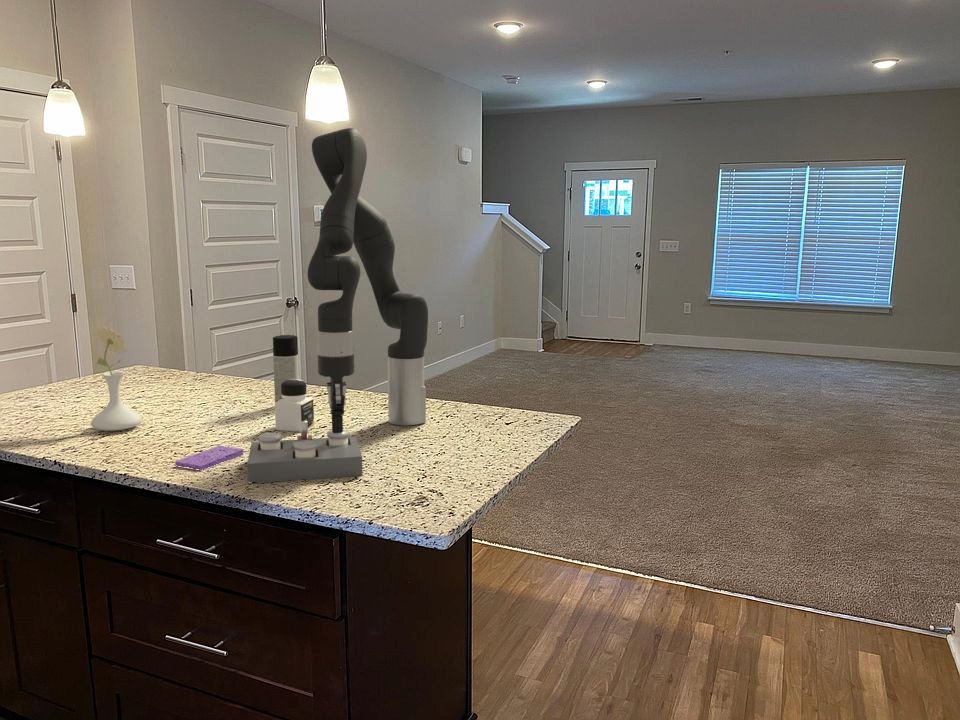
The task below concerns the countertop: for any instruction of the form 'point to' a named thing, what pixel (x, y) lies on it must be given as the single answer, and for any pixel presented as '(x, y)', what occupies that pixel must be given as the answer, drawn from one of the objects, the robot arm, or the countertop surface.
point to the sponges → (209, 457)
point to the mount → (304, 462)
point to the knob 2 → (338, 438)
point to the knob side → (305, 448)
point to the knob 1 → (270, 441)
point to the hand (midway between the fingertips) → (337, 432)
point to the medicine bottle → (293, 406)
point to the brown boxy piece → (304, 432)
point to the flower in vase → (114, 389)
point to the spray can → (284, 361)
